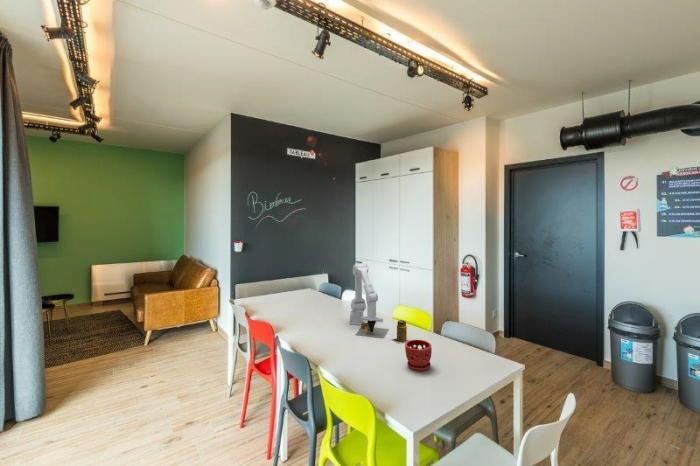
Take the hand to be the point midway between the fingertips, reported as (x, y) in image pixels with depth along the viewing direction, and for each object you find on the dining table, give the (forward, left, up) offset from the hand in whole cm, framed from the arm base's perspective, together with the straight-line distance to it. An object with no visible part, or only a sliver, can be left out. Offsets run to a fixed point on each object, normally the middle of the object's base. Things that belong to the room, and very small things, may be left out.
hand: (371, 331), depth 210 cm
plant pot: (+33, -38, -2) cm, 51 cm away
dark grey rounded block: (-5, +8, -1) cm, 10 cm away
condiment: (+19, -5, -2) cm, 20 cm away
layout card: (-1, +4, -2) cm, 4 cm away
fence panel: (-3, +2, -1) cm, 4 cm away
